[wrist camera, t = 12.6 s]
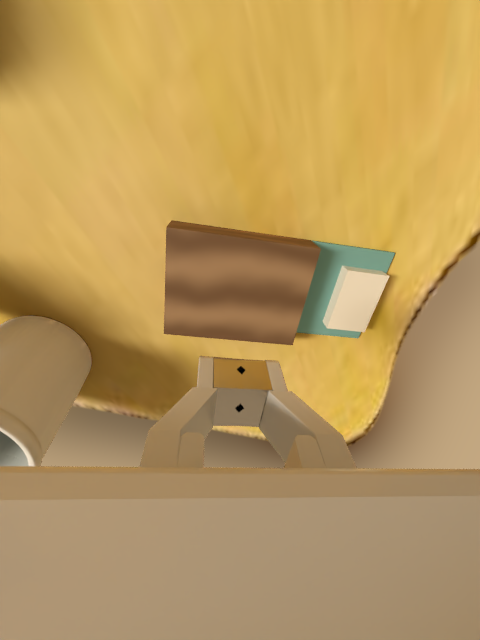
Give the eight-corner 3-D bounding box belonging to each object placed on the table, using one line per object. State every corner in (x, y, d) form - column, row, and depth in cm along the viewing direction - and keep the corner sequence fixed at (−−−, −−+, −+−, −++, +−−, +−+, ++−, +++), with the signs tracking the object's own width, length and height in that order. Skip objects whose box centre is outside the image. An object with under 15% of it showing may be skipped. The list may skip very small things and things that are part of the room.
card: (389, 276, 37) (381, 270, 39) (348, 270, 36) (342, 265, 38) (364, 332, 42) (358, 325, 43) (326, 328, 41) (322, 321, 42)
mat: (311, 240, 36) (311, 241, 36) (393, 252, 38) (395, 253, 38) (286, 330, 43) (286, 331, 43) (357, 337, 45) (358, 338, 45)
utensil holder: (38, 291, 37) (-85, 380, 22) (118, 363, 44) (66, 469, 29) (-33, 342, 40) (-185, 451, 25) (52, 402, 47) (-27, 517, 32)
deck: (171, 220, 34) (166, 227, 30) (311, 240, 36) (321, 248, 33) (168, 319, 41) (164, 333, 37) (286, 330, 43) (292, 345, 40)
